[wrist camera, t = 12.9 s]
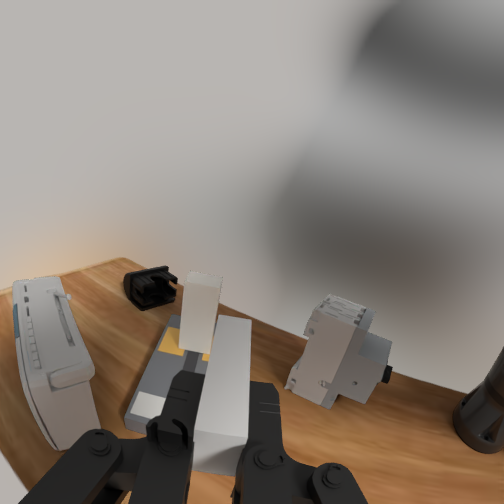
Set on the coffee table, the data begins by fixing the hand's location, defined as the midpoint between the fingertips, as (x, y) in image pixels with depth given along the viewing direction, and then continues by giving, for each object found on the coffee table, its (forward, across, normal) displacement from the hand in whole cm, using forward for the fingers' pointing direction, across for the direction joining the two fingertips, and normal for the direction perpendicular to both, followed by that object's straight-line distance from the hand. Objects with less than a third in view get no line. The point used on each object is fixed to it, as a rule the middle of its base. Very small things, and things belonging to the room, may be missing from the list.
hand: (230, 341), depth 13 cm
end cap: (+43, -18, -24) cm, 52 cm away
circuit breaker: (+22, +18, -24) cm, 38 cm away
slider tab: (+27, -5, -21) cm, 34 cm away
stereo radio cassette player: (+11, -22, -24) cm, 34 cm away
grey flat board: (+22, -5, -24) cm, 33 cm away
